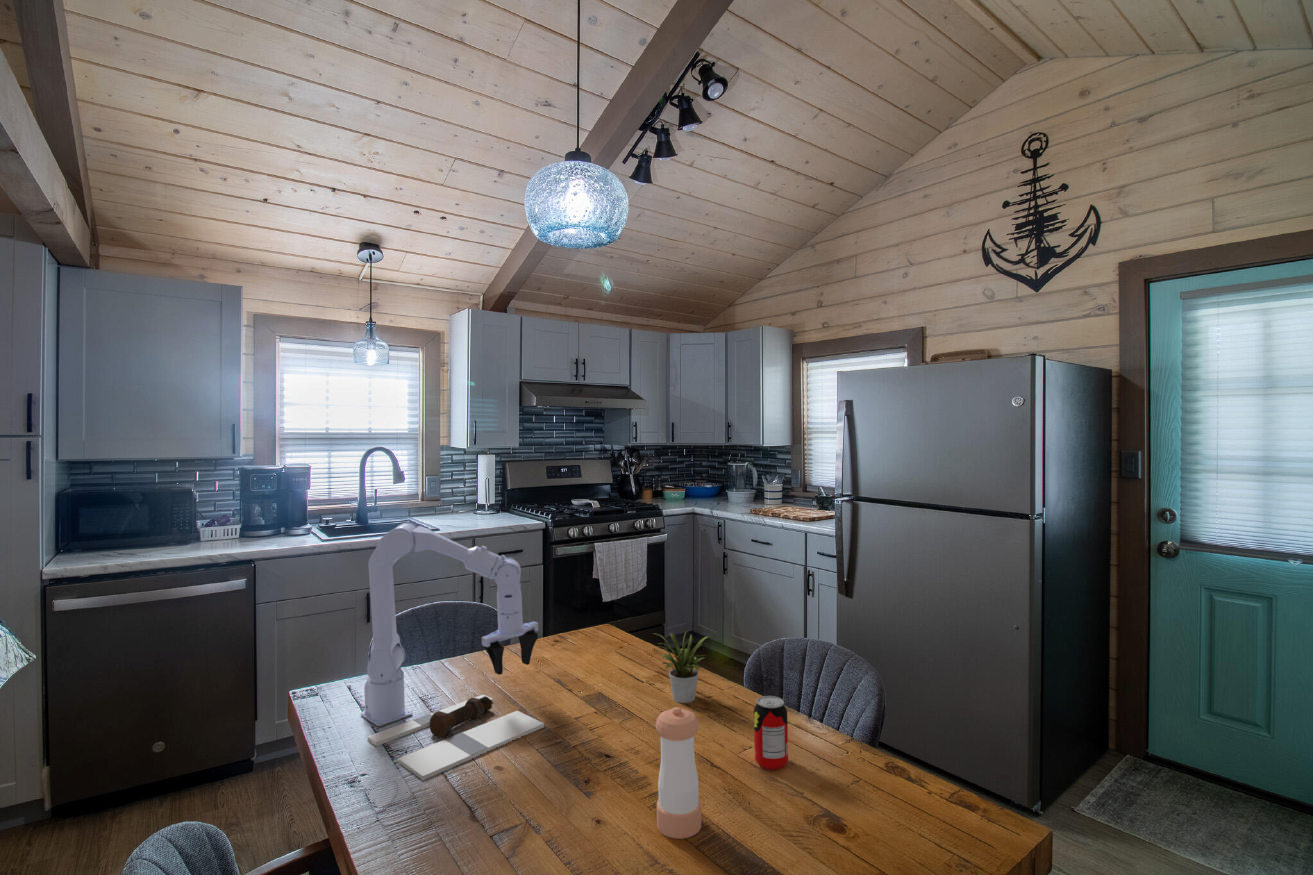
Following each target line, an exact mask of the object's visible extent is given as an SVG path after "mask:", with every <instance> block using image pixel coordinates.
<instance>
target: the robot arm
mask: <svg viewBox="0 0 1313 875" xmlns="http://www.w3.org/2000/svg"><path fill="white" fill-rule="evenodd" d="M412 549H414V552H415V553H417V552H418V553H419V552H423V551H428V550H430V551H431V550H432V551H434V552H436V553H439V554H442V555H445V556H447V557H450V558H452V559H454V560H455V559H456V560H458V561H460V562H462V563H463V566H464V568H465V569H466V570H468V571H471V572H472V573H475V574H478V575H480V576H482V577H485V578H487V579H489V580H494V582H495V584H496V585H497V586H496V588H497V592H496V604H497V606H496V609H497V629H496V630H495V631H493V632H490V633H489V634H486V635H483V636H481V645H482V646H483V648H484V650H485V651H486V653H487V655H488V656H489V658H490V661H491V664H492V667H493V669H494V674H496V675H503V672H504V666H503V657H504V651H505V646H503V645H501V643H500V642H504V641H506V640H510V639H514V638H516V637H517V638H518V641H519V645H520V655H521V664H523V665H526V666H528V665H530V662H531V657H532V654H533V649H534V647H535V644H536V641H537V640H538V638H539V633H537V632H539V622H536V621H530V622H525V623H523V622H524V620H523V619H524V618H523V602H522V601H523V598H522V597H523V596H522V590H521V588H522V584H521V576H522V575H521V574H522V567H521V564H520V563H519V562H518V561H517V560H516V559H514V558H513V557H506V555H503V554H501V555H499V554H496V553H494V552H492V551H490V550H488V547H487V546H484V545H481V547H480V546H478V545H476V546H473V547H469V548H468V547H466V546H465V545H462V544H460V543H458V542H456V541H453V540H452V539H451V538H448V537H446V536H443V535H441V534H439V533H437V532H435V531H433V530H431V529H429V528H426V527H424V526H421V525H418V526H417V525H416V524H414V523H412V522H404V523H401V524H399V525H397V526H396V527H395V528H392V529H390V530H389V531H388V532H387V533H386V534H384V535H383V536H382V537H381V538H380V539H379V541H378V543H377V546H376V547H375V549H374V550H373V551H372V553H371V555H370V557H369V558H368V559H369V560H368V564H367V566H368V567H367V568H368V579H369V580H368V582H369V594H370V609H371V610H370V611H371V626H372V643H371V646H370V658H369V661H368V664H367V665H366V666H367V667H366V674H367V675H368V676H367V677H368V678H367V679H366V681H365V683H364V711H363V712H361V713H360V716H362V717H363V718H365V719H366V720H368V721H369V722H371V723H372V724H374V725H375V726H377V727H381V726H385V725H387V724H391V723H394V722H395V721H399V720H401V719H404V718H407V717H410V716H412V715H413V712H412V711H411V710H408V709H407V708H405V707H406V706H405V705H406V703H405V675H404V674H405V673H404V671H403V669H402V667H401V666H402V665H403V663H404V661H405V659H406V652H405V649H404V648H403V646H402V644H401V638H400V635H399V633H398V632H397V630H398V628H397V617H396V613H397V612H396V602H395V601H396V599H395V587H394V586H395V585H394V583H395V582H394V570H393V566H394V564H396V562H397V561H398V560H399V559H401V557H403V556H405V555H407V554H408V553H410V552H411V550H412Z"/></svg>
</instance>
